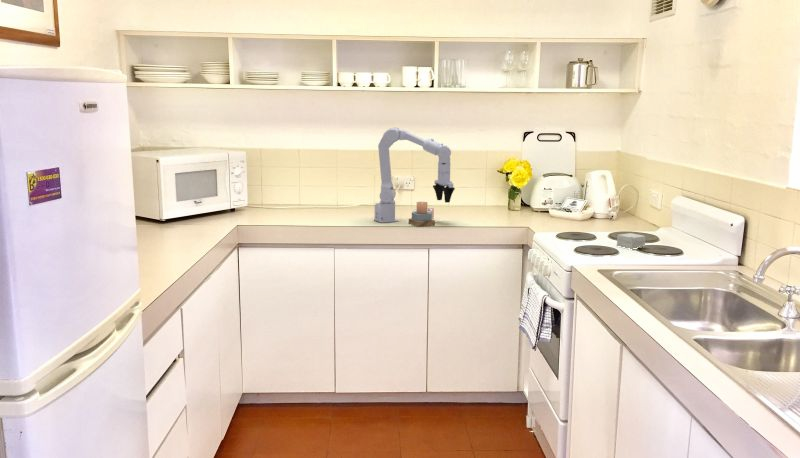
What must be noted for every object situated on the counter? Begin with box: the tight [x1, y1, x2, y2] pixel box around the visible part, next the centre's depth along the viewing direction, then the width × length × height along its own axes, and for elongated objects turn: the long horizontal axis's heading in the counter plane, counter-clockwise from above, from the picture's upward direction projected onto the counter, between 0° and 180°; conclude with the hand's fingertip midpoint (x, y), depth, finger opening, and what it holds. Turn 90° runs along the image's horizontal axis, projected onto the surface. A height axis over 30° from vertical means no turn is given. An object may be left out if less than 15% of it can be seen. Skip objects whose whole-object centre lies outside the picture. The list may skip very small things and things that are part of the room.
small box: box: [616, 232, 646, 249], centre depth 270 cm, size 8×8×5 cm
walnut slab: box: [408, 218, 436, 228], centre depth 314 cm, size 9×9×3 cm
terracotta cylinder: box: [416, 201, 428, 214], centre depth 313 cm, size 5×5×5 cm
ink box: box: [412, 207, 435, 220], centre depth 327 cm, size 8×5×12 cm
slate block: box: [411, 211, 433, 221], centre depth 313 cm, size 7×7×3 cm
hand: (443, 201), depth 317 cm, fingers open, 7 cm apart
